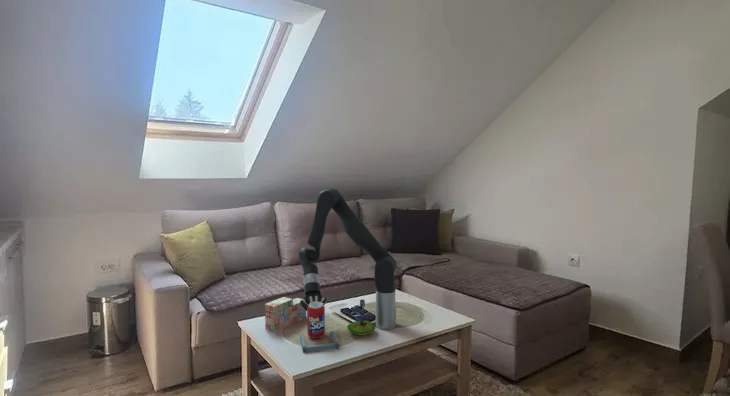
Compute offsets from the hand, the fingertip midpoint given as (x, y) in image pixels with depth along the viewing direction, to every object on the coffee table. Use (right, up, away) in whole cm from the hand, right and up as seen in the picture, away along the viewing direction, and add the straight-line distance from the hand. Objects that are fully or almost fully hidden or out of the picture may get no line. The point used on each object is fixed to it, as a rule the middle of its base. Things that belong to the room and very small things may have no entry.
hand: (315, 319), depth 198 cm
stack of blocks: (-15, -6, +14) cm, 22 cm away
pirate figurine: (+21, -7, +2) cm, 22 cm away
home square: (+3, -8, -9) cm, 12 cm away
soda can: (+1, -7, -1) cm, 7 cm away
